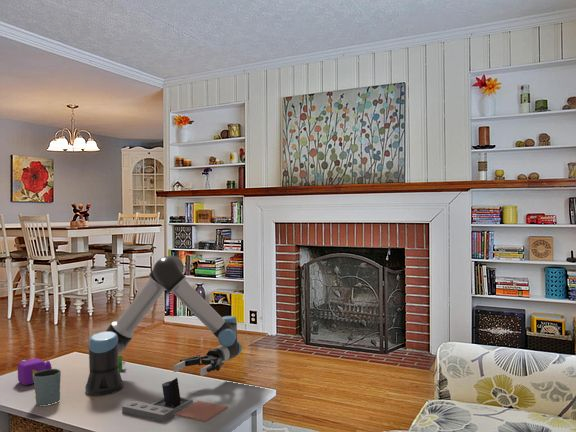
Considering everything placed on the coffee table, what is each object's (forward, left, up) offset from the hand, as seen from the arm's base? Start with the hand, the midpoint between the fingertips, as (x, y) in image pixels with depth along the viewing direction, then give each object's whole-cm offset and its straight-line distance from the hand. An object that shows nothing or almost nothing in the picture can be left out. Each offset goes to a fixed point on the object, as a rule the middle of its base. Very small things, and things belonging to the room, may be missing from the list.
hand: (187, 370), depth 200 cm
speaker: (-1, -10, -11) cm, 15 cm away
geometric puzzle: (-54, +14, -11) cm, 56 cm away
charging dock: (-2, -14, -11) cm, 18 cm away
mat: (+14, -10, -11) cm, 21 cm away
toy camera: (-77, -13, -11) cm, 78 cm away
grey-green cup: (-49, -28, -11) cm, 57 cm away
